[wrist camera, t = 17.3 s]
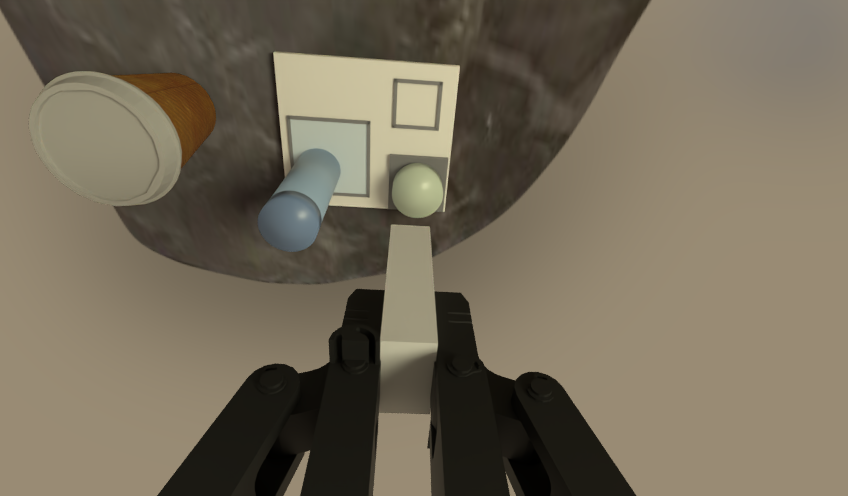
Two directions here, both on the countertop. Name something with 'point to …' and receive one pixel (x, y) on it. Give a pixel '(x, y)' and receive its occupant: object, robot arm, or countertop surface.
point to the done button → (417, 190)
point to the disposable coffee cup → (120, 132)
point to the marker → (300, 201)
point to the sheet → (367, 119)
